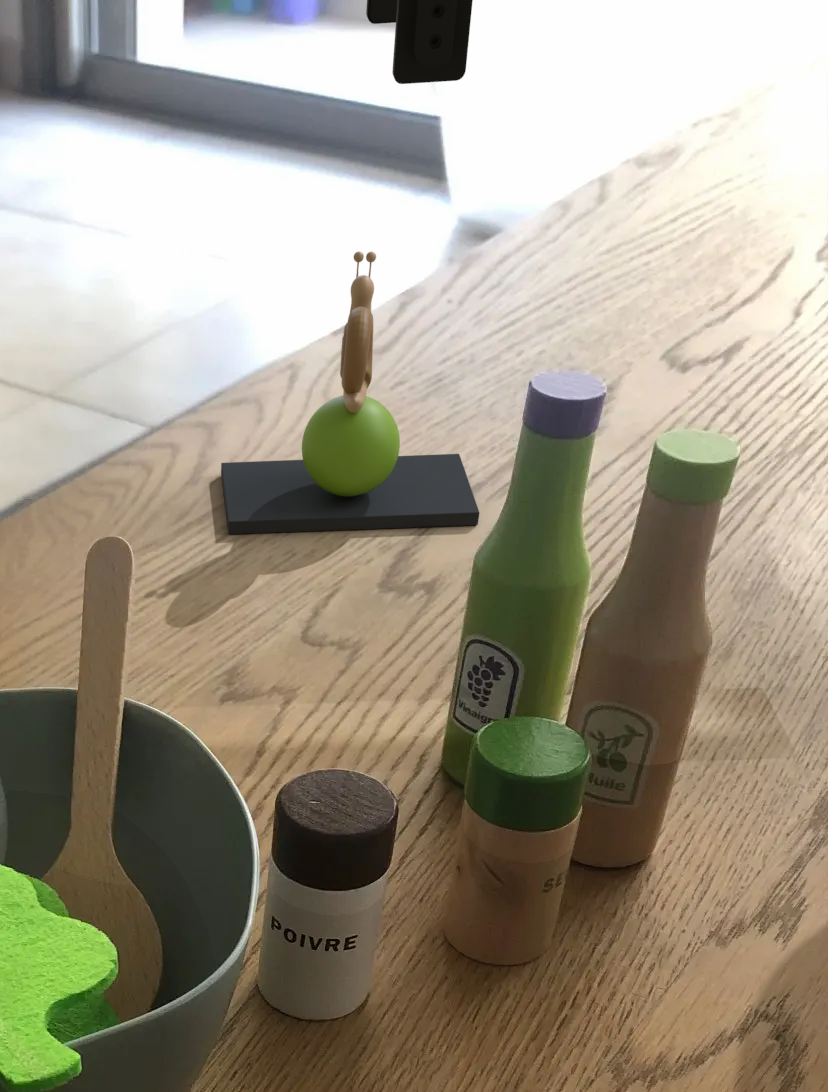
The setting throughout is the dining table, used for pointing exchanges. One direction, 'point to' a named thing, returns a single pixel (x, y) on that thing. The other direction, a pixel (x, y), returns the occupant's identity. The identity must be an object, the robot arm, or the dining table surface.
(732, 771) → the dining table surface
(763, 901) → the dining table surface
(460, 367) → the dining table surface
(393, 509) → the mat
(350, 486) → the snail figurine
